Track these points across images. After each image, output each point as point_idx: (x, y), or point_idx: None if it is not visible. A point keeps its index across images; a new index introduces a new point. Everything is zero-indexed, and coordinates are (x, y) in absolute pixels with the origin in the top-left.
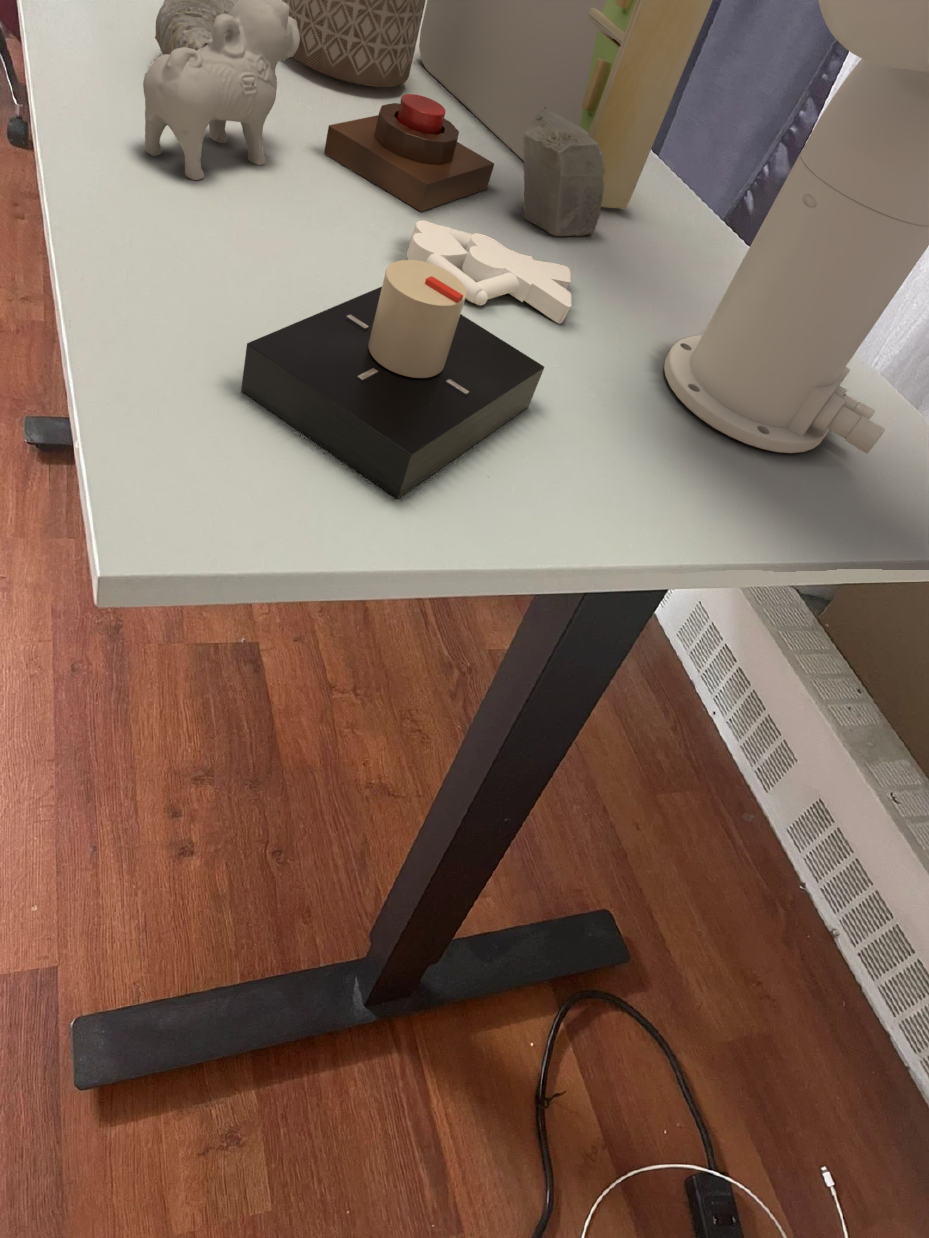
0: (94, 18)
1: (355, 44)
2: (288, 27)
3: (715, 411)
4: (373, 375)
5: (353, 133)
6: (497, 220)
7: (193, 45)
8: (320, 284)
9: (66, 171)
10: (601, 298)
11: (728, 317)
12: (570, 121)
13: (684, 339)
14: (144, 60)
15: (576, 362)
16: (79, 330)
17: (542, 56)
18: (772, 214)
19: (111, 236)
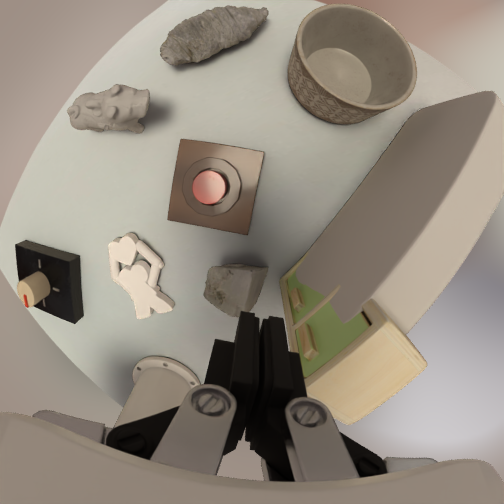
0: None
1: (299, 91)
2: (120, 117)
3: (132, 375)
4: None
5: (186, 153)
6: (211, 253)
7: (162, 54)
8: (75, 221)
9: (67, 106)
10: (184, 323)
11: (136, 387)
12: (248, 291)
13: (170, 363)
14: None
15: (122, 325)
16: (15, 191)
17: (352, 234)
18: (128, 414)
19: (46, 153)
